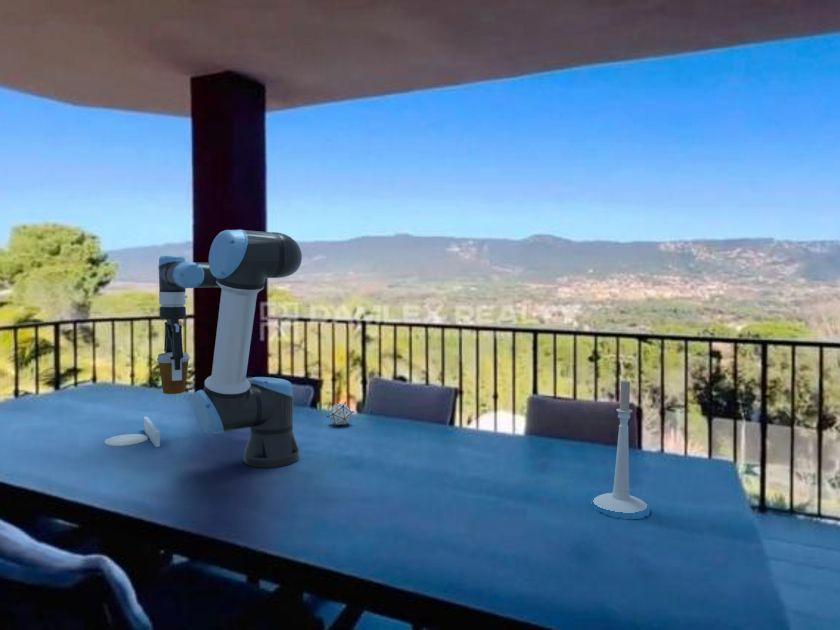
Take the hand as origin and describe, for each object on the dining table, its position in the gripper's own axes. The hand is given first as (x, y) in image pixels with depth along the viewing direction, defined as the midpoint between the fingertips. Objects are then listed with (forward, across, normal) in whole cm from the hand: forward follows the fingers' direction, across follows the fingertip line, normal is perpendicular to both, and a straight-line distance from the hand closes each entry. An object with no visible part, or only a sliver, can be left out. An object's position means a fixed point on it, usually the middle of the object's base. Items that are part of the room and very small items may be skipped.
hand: (173, 377), depth 184 cm
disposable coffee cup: (+5, 0, 0) cm, 5 cm away
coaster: (+20, +6, +13) cm, 24 cm away
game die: (+20, -10, -52) cm, 57 cm away
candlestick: (+19, -109, -76) cm, 134 cm away
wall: (+20, +5, +6) cm, 21 cm away
